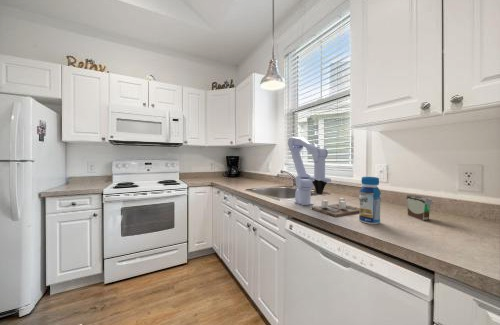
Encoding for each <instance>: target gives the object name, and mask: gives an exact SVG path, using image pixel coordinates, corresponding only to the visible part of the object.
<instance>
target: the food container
mask: <svg viewBox="0 0 500 325" xmlns="http://www.w3.org/2000/svg"><path fill="white" fill-rule="evenodd" d="M405 199H406V210H407V216H408V217H411V218H414V219H416V220H419V221H422V222H427V221H429V220H430V219H429V218H430V213H431V205H433V204H434V203H433V199H432V198H431V197H427V196H422V195H414V194H413V195H411V194H406V196H405Z"/></svg>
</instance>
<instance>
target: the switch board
mask: <svg viewBox="0 0 500 325" xmlns="http://www.w3.org/2000/svg"><path fill="white" fill-rule="evenodd" d="M311 210H313V211H315V212H318V213H322V214H325V215H328V216H332V217H334V218H338V217H343V216H349V215H354V214H360V207H356V206H351V205H348V204H346V208H345V209H341V208H339V203H333V204H328V207H325V208H324V207H322V205H320V206H312V207H311Z"/></svg>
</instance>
